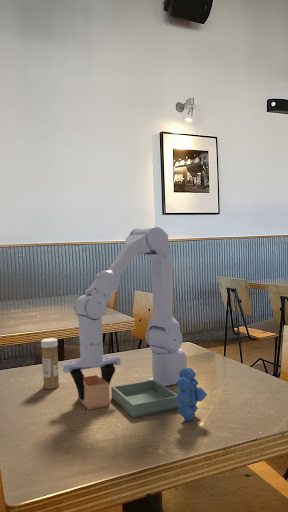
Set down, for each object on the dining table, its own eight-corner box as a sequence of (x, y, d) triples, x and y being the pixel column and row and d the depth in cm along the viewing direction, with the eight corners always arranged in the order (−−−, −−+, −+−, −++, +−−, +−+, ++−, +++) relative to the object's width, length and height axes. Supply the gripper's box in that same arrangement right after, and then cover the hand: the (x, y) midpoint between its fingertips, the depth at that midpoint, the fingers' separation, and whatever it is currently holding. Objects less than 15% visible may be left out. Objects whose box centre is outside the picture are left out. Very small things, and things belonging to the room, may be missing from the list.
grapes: (203, 433, 91) (201, 374, 91) (171, 430, 93) (169, 373, 93) (212, 412, 102) (210, 360, 102) (183, 409, 104) (181, 359, 104)
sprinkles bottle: (61, 387, 125) (60, 339, 124) (46, 390, 122) (44, 341, 122) (55, 383, 128) (53, 337, 128) (40, 386, 126) (38, 339, 126)
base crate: (154, 390, 119) (153, 379, 118) (180, 408, 105) (180, 396, 105) (111, 398, 114) (111, 386, 114) (133, 418, 100) (133, 405, 100)
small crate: (98, 395, 117) (97, 374, 116) (109, 405, 108) (108, 383, 108) (78, 398, 114) (77, 377, 114) (87, 409, 106) (87, 387, 106)
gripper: (66, 349, 105) (68, 406, 105) (123, 342, 110) (126, 396, 111) (59, 343, 111) (61, 397, 111) (114, 337, 117) (116, 388, 117)
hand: (93, 396), depth 111 cm, fingers closed on small crate, 5 cm apart
